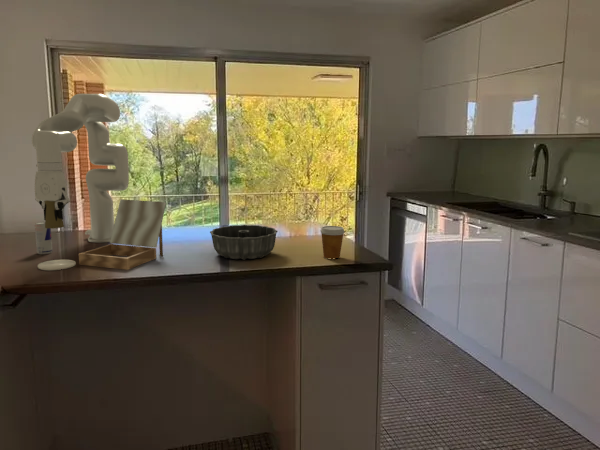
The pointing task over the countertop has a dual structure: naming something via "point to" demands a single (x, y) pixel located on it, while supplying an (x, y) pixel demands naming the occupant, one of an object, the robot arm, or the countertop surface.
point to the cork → (52, 216)
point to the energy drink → (43, 238)
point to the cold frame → (130, 236)
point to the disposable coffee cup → (332, 241)
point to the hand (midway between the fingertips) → (53, 219)
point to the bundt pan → (243, 241)
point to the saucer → (56, 264)
